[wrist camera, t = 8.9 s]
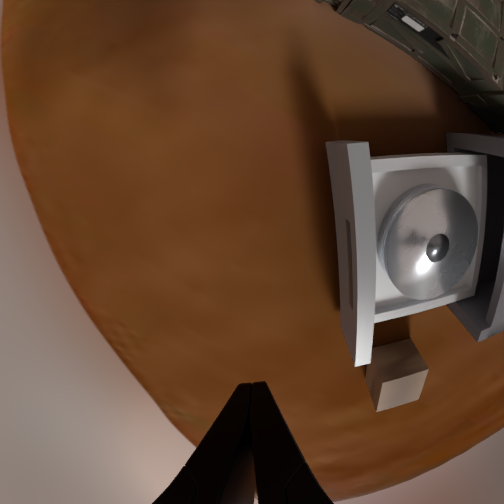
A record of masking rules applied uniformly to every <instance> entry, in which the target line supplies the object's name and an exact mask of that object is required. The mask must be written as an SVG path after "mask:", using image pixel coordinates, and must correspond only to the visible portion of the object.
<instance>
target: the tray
mask: <svg viewBox="0 0 504 504" xmlns="http://www.w3.org/2000/svg"><path fill="white" fill-rule="evenodd" d="M325 144H326V150H327V157H328V164H329V171H330V179H331V187H332V196H333V205H334V215H335V225H336V237H337V250H338V266H339V285H340V316H341V329H342V331H343V334H344V337H345V340H346V343H347V345H348V348H349V351H350V354H351V357H352V360H353V362H354V365H355V367H357V366H361V365H365V364H370V362H371V352H372V342H373V330H374V323H377V322H381V321H386V320H390V319H394V318H398V317H402V316H406V315H410V314H414V313H417V312H421V311H425V310H428V309H432V308H435V307H439V306H442V305H446V304H449V303H452V302H455V301H459V300H462V299H465V298H468V297H471V296H474V295H475V291H476V286H477V281H478V275H479V270H480V264H481V257H482V250H483V242H484V233H485V222H486V207H487V155H485V154H480V153H475V152H453V153H422V154H403V155H388V156H376V157H370V150H369V142H363V141H348V140H338V141H329V142H325ZM426 183H432V184H438V185H440V186H443V187H446V188H448V189H451V190H453V191H456V192H458V193H460V194H461V195H463V196H464V197H465V198H466V199H467V200H468V201H469V203H470V204H471V206H472V208H473V210H474V212H475V215H476V218H477V224H478V241H477V247H476V251H475V254H474V257H473V259H472V262H471V264H470V266H469V268H468V269H467V271H466V273H465V274H464V275H463V277H462V278H461V279H460V280H459V281H458V282H457V283H456V284H455V285H454V286H453V287H452V288H451V289H449V290H448V291H447V292H445V293H443V294H442V295H439V296H437V297H435V298H431V299H426V300H417V299H412V298H409V297H407V296H405V295H403V294H402V293H401V292H400V291H399V290H398V289H397V288H396V287H395V286H394V284H393V283H392V282H391V281H390V279H389V278H388V277H387V276H386V274H385V273H384V271H383V269H382V267H381V265H380V262H379V258H378V252H377V241H378V234H379V230H380V226H381V223H382V221H383V218H384V216H385V214H386V213H387V211H388V209H389V208H390V206H391V205H392V204H393V202H394V201H395V200H396V199H397V198H398V197H399V196H400V195H401V194H402V193H404V192H405V191H407V190H408V189H410V188H412V187H414V186H417V185H420V184H426Z"/></svg>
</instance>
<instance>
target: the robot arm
mask: <svg viewBox="0 0 504 504" xmlns="http://www.w3.org/2000/svg"><path fill="white" fill-rule="evenodd" d="M255 486H256V487H257V496H258V504H334V503H333V502H332V501H331V500H330V498H329V497H328V496H327V494H326V493H325V492H324V490H323V489H322V488H321V486H320V485H319V483H318V482H317V480H316V478H315V477H314V475H313V473H312V471H311V470H310V468H309V466H308V464H307V463H306V460H305V459H304V457H303V455H302V453H301V451H300V449H299V447H298V445H297V443H296V441H295V439H294V437H293V436H292V434H291V432H290V430H289V428H288V426H287V424H286V422H285V420H284V418H283V416H282V414H281V412H280V410H279V408H278V406H277V404H276V402H275V400H274V398H273V396H272V393H271V391H270V389H269V387H268V385H267V383H266V382H265V381H261V382H254V383H253V384H252V383H241V384H239V385H238V386H237V387H236V389H235V391H234V392H233V394H232V395H231V397H230V398H229V400H228V402H227V403H226V405H225V406H224V408H223V409H222V411H221V412H220V414H219V415H218V417H217V418H216V420H215V421H214V423H213V425H212V426H211V427H210V429H209V430H208V432H207V433H206V435H205V436H204V438H203V439H202V441H201V442H200V444H199V445H198V447H197V448H196V450H195V451H194V452H193V454H192V455H191V457H190V458H189V460H188V461H187V462H186V464H185V466H184V467H183V468H182V469H181V471H180V472H179V474H178V475H177V476H176V477H175V479H174V480H173V481H172V482H171V484H170V485H169V486H168V487H167V488H166V489H165V491H164V492H163V493H162V494H161V495H160V496H159V497H158V498H157V499H156V500H155V501H154V502H153V503H152V504H254V496H255Z"/></svg>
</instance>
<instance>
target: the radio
mask: <svg viewBox="0 0 504 504" xmlns="http://www.w3.org/2000/svg"><path fill="white" fill-rule="evenodd" d="M322 1H325V2H328V3H330V4H332V5H335V6H337V7H338V9H337V11H336V12H337V13H340V14H341V16H343V17H345V18H347V19H349V20H351V21H353V22H355V23H357V24H359V23H361V24H362V25H364V26H366V27H367V28H368V29H369V30H371V31H373V32H374V33H376V34H378V35H379V36H381V37H383V38H384V39H386V40H387V41H389V42H390V43H392V44H394V45H395V46H397V47H398V48H400V49H401V50H403V51H404V52H405V53H407V54H408V55H410V56H411V57H413V58H414V59H415V60H417V61H418V62H419V63H421V64H422V65H423V66H425V67H426V68H427V69H429V70H430V71H431V72H432V73H434V74H435V75H436V76H437V77H439V78H440V79H441V80H442V81H443V82H445V83H446V84H447V85H449V86H451V87H452V88H453V89H454V90H455V91H456V92H457V93H459V96H458V98H459V99H460V100H462V101H463V102H464V103H469V104H470V107H469V108H470V109H471V110H472V111H473V112H474V113H475V114H478V115H479V116H480V117H481V118H482V119H483V120H484V121H485V122H486V123H487V125H488V126H489V127H490V128H491V129H492V130H493V131H494V132H495V133H498V132H501V133H503V134H504V0H316V2H318V3H321V2H322Z"/></svg>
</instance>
